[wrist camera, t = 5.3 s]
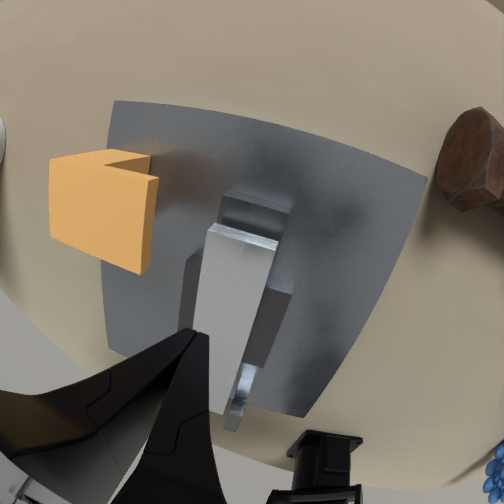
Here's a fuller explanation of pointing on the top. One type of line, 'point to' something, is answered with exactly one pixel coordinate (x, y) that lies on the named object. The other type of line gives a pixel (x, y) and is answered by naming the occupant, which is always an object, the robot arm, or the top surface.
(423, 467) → the top surface
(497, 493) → the grapes
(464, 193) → the bolt
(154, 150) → the base
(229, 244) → the strap
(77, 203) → the block
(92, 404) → the robot arm
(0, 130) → the coffee cup
